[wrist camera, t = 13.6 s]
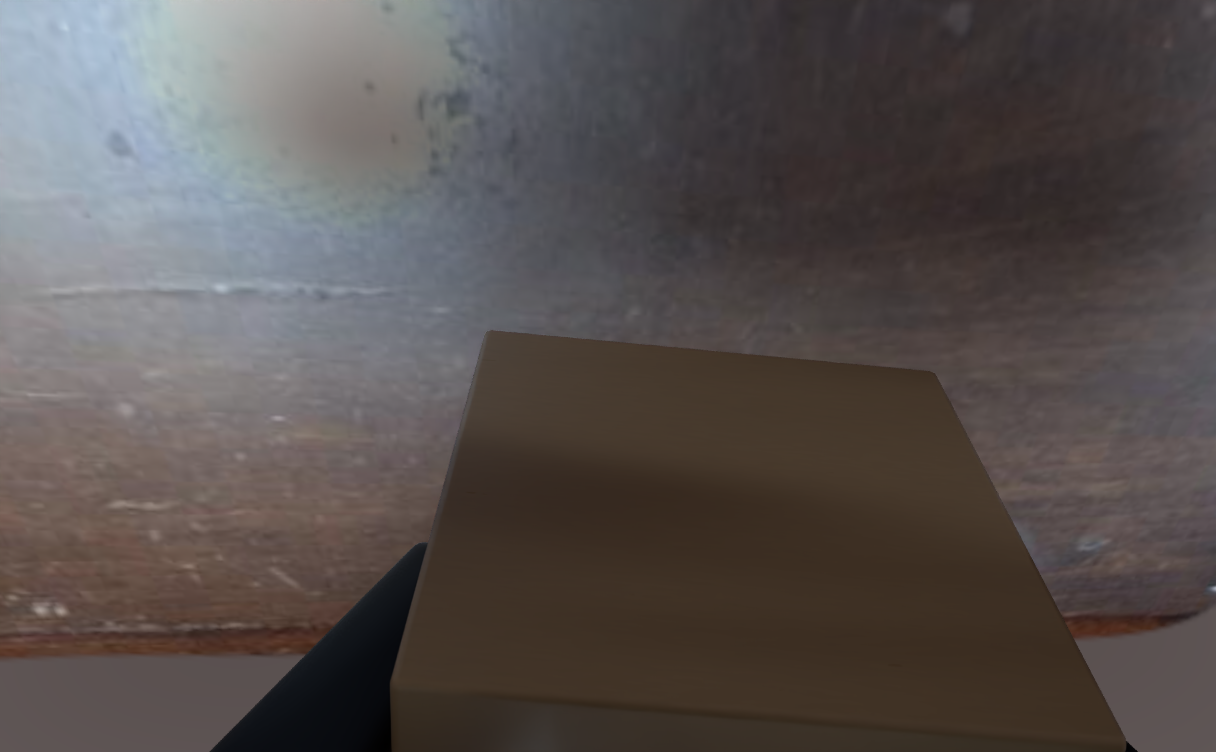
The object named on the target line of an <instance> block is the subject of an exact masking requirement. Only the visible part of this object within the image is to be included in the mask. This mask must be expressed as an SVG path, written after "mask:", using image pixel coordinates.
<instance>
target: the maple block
mask: <svg viewBox="0 0 1216 752" xmlns="http://www.w3.org/2000/svg"><path fill="white" fill-rule="evenodd" d="M390 709H391V747H392V752H1125V750H1126V739H1125V736H1124V734H1123V733H1122V731H1121V729H1120V727H1119V725H1118V723H1117V721H1116V719H1115V717H1114V715H1113V713H1112V711H1111V710H1110V708H1109V706H1108V704H1107V702H1106V700H1105V698H1104V696H1103V694H1102V692H1101V690H1100V689H1099V687H1098V685H1097V683H1096V681H1095V679H1094V677H1093V675H1092V673H1091V671H1090V669H1089V667H1088V665H1087V663H1086V661H1085V660H1084V658H1083V656H1082V654H1081V652H1080V650H1079V648H1078V646H1077V644H1076V642H1075V640H1074V638H1073V637H1072V635H1071V633H1070V631H1069V629H1068V627H1067V625H1066V623H1065V621H1064V619H1063V617H1062V615H1061V614H1060V612H1059V610H1058V608H1057V606H1056V604H1055V602H1054V600H1053V598H1052V596H1051V594H1050V592H1049V591H1048V589H1047V587H1046V585H1045V583H1044V581H1043V579H1042V577H1041V575H1040V573H1039V571H1038V569H1037V568H1036V566H1035V564H1034V562H1033V560H1032V558H1031V556H1030V554H1029V552H1028V550H1027V548H1026V546H1025V545H1024V543H1023V541H1022V539H1021V537H1020V535H1019V533H1018V531H1017V529H1016V527H1015V525H1014V523H1013V522H1012V520H1011V518H1010V516H1009V514H1008V512H1007V510H1006V508H1005V506H1004V504H1003V502H1002V500H1001V498H1000V497H999V495H998V493H997V491H996V489H995V487H994V485H993V483H992V481H991V479H990V477H989V475H988V474H987V472H986V470H985V468H984V466H983V464H982V462H981V460H980V458H979V456H978V454H977V452H976V451H975V449H974V447H973V445H972V443H971V441H970V439H969V437H968V435H967V433H966V431H965V429H964V428H963V426H962V424H961V422H960V420H959V418H958V416H957V414H956V412H955V410H954V408H953V406H952V405H951V403H950V401H949V399H948V397H947V395H946V393H945V391H944V389H943V387H942V385H941V383H940V382H939V380H938V378H937V376H936V374H935V373H933V372H931V371H924V370H913V369H902V368H892V367H881V366H870V365H860V364H849V363H838V362H828V361H817V360H806V359H795V358H785V357H774V356H763V355H753V354H742V353H731V352H721V351H710V350H699V349H689V348H678V347H667V346H657V345H646V344H635V343H625V342H614V341H603V340H593V339H582V338H571V337H561V336H550V335H539V334H528V333H518V332H507V331H496V330H489V331H487V332H486V333H485V335H484V338H483V341H482V345H481V349H480V352H479V356H478V360H477V363H476V367H475V371H474V374H473V378H472V382H471V386H470V389H469V393H468V397H467V400H466V404H465V408H464V411H463V415H462V419H461V422H460V426H459V430H458V433H457V437H456V441H455V444H454V448H453V452H452V456H451V459H450V463H449V467H448V470H447V474H446V478H445V481H444V485H443V489H442V492H441V496H440V500H439V503H438V507H437V511H436V514H435V518H434V522H433V526H432V529H431V533H430V537H429V540H428V544H427V548H426V551H425V555H424V559H423V562H422V566H421V570H420V573H419V577H418V581H417V584H416V588H415V592H414V596H413V599H412V603H411V607H410V610H409V614H408V618H407V621H406V625H405V629H404V632H403V636H402V640H401V643H400V647H399V651H398V654H397V658H396V662H395V666H394V669H393V673H392V677H391V680H390Z"/></svg>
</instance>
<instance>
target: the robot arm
mask: <svg viewBox="0 0 1216 752" xmlns="http://www.w3.org/2000/svg"><path fill="white" fill-rule="evenodd" d="M427 544H428V543H427V542H422V543H418V544H416V545H415V546H414V547H412V548H411V549H410V550H409V551H408V552H407V553H406V554H405V555H404V556H403V557H402V558H401V559H400V560H399V561H398V562H397V563H396V565H395V566H394V567H393V568H392V569H391V570H390V571H389V572H388V573H387V574H386V575H385V576H384V577H383V578H382V579H381V580H380V581H379V582H378V583H377V584H376V585H375V586H374V587H373V588H372V589H371V590H370V591H369V592H368V593H367V594H366V595H365V596H364V597H363V598H362V599H361V600H360V601H359V602H358V603H357V604H356V605H355V606H354V607H353V608H352V609H351V610H350V611H349V612H348V613H347V614H346V615H345V616H344V617H343V618H342V619H341V620H340V621H339V622H338V623H337V624H336V625H335V626H334V627H333V628H332V629H331V630H330V631H329V632H328V633H327V634H326V635H325V636H324V637H323V638H322V639H321V640H320V641H319V642H318V643H317V644H316V645H315V646H314V647H313V648H312V649H311V650H310V651H309V652H308V653H307V654H306V655H305V656H304V657H303V658H302V659H301V660H300V661H299V662H298V663H297V664H296V665H295V666H294V667H293V668H292V669H291V671H289V672H288V673H287V674H286V675H285V676H284V677H283V678H282V679H281V680H280V681H279V682H278V684H276V685H275V686H274V687H273V688H272V689H271V690H270V691H269V692H268V693H267V694H266V695H265V696H264V698H263V699H262V700H260V701H259V703H257V705H255V707H254V708H253V709H252V710H251V711H250V712H249V713H248V714H247V715H246V716H245V717H244V718H243V719H242V720H241V721H240V722H239V723H238V724H237V725H236V726H235V727H234V728H233V729H232V730H231V731H230V732H229V733H228V734H227V735H226V736H225V737H224V738H223V739H222V740H221V741H220V742H219V743H218V744H217V745H216V746H215V747H214V748H213V749H212V750H211V751H210V752H392V747H391V709H390V680H391V677H392V673H393V669H394V666H395V662H396V658H397V654H398V651H399V647H400V643H401V640H402V636H403V632H404V629H405V625H406V621H407V618H408V614H409V610H410V607H411V603H412V599H413V596H414V592H415V588H416V584H417V581H418V577H419V573H420V570H421V566H422V562H423V559H424V555H425V551H426V548H427ZM1125 752H1138V751H1137V750H1135V749H1134V748H1133V747H1132V746H1131V745H1130V744H1129V743H1128V742H1127V741H1126V750H1125Z"/></svg>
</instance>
